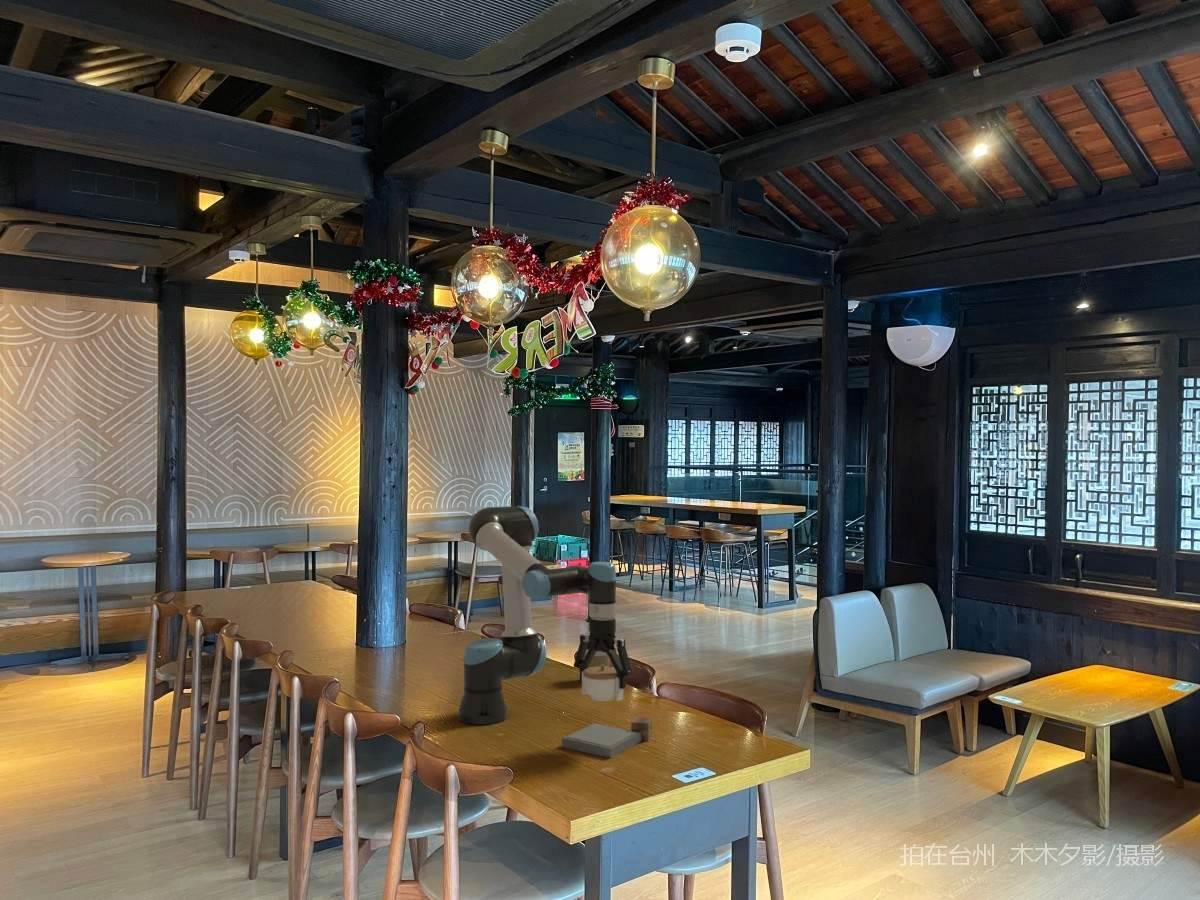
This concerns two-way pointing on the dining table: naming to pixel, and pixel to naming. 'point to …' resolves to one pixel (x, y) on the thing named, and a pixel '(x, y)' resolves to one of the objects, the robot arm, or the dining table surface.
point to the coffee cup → (598, 658)
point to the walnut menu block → (642, 727)
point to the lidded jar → (600, 683)
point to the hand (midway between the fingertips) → (602, 696)
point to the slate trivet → (601, 740)
